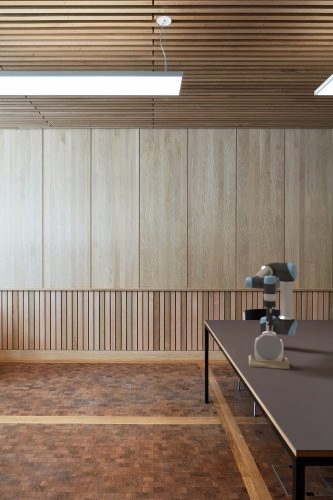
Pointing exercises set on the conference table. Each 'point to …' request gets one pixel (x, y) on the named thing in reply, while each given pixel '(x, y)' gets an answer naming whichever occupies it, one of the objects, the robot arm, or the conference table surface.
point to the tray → (268, 363)
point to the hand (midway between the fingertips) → (269, 333)
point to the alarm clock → (268, 347)
